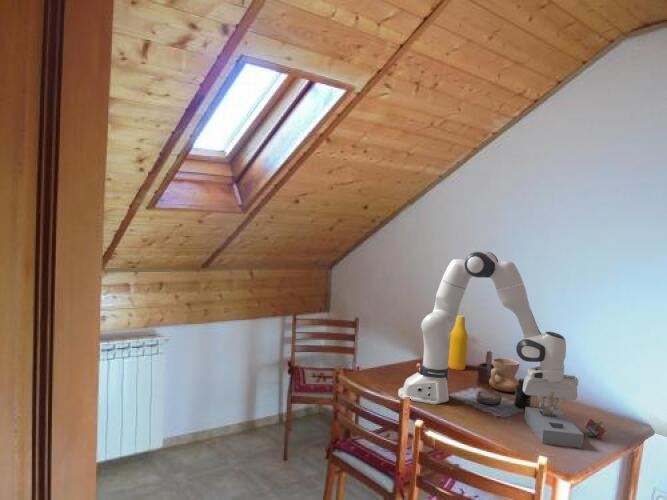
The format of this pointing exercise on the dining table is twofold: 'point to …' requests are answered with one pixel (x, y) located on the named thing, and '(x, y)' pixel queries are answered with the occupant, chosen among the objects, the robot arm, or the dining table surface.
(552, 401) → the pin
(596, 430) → the geometric puzzle
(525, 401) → the supplement bottle
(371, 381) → the dining table surface
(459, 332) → the beer bottle
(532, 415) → the socket block
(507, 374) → the ceramic jug
